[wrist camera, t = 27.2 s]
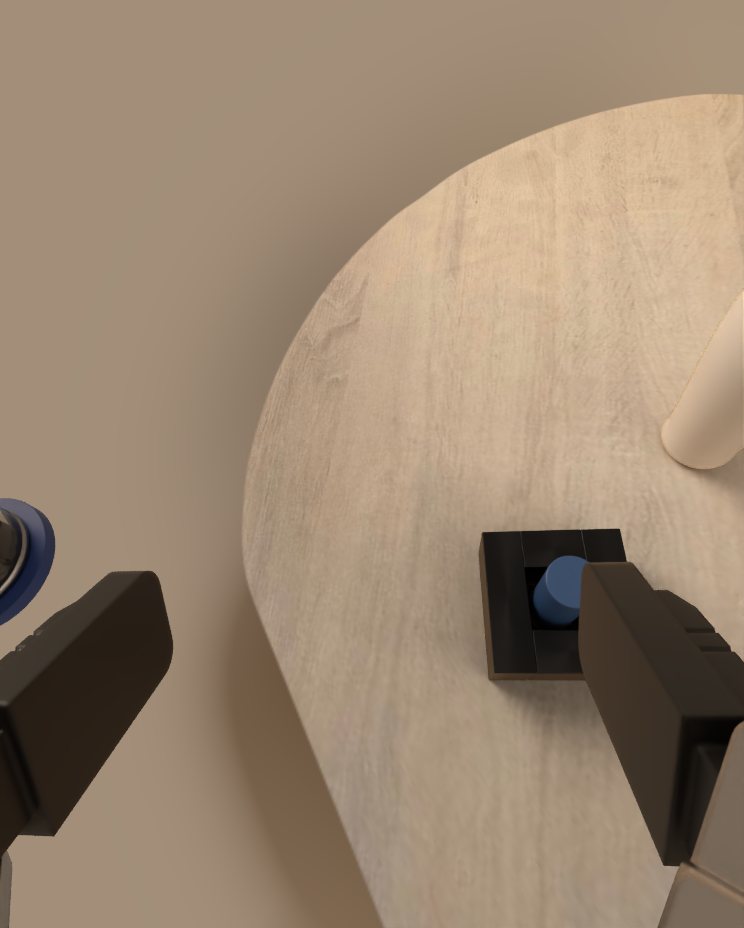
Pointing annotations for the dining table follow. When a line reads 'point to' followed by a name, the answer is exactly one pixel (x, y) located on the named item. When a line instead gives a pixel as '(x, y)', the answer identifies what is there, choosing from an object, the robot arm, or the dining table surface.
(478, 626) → the dining table surface
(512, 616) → the holder
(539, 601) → the handle
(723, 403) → the drinking glass
